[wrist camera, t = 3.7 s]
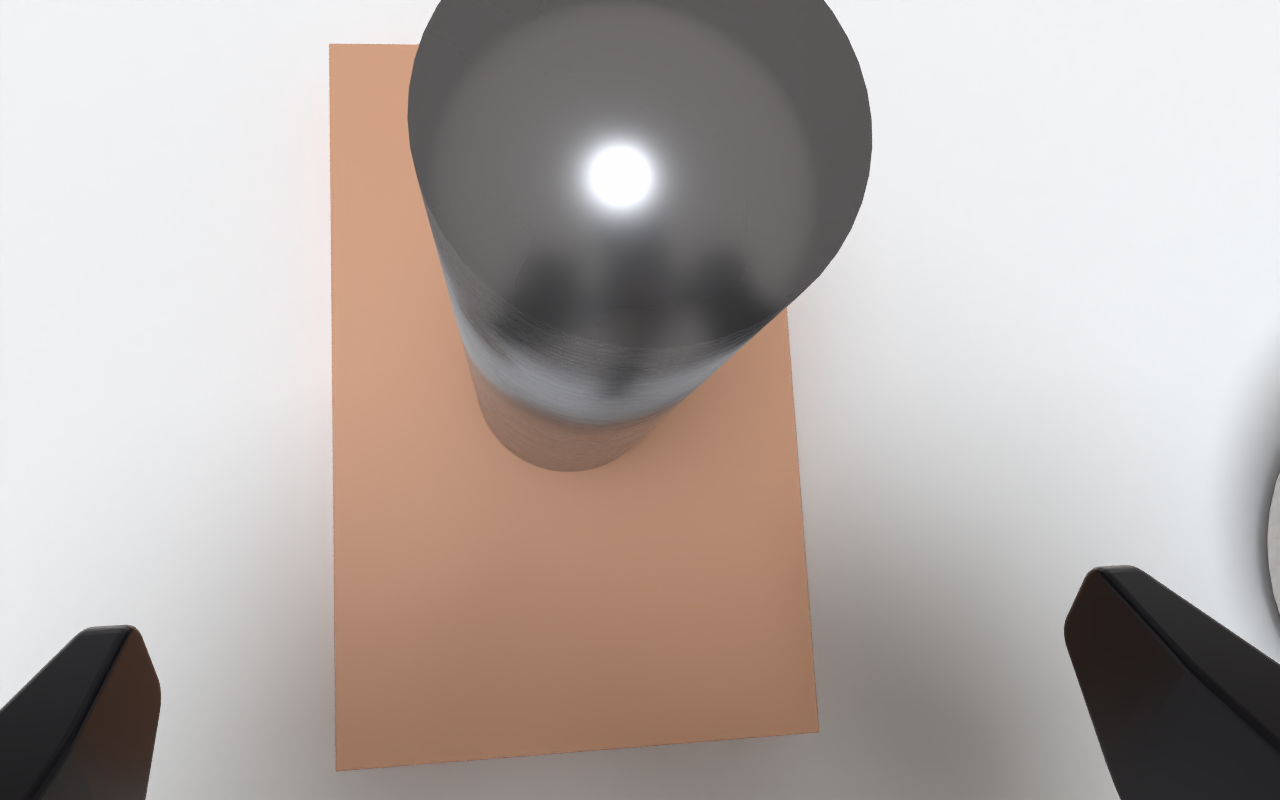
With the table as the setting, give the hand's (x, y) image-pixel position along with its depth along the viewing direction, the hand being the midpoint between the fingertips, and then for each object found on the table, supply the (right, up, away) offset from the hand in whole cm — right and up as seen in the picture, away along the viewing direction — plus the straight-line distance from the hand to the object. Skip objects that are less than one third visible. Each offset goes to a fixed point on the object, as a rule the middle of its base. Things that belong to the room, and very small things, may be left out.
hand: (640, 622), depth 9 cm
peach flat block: (-2, +2, +11) cm, 12 cm away
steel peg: (-1, +2, +10) cm, 10 cm away
